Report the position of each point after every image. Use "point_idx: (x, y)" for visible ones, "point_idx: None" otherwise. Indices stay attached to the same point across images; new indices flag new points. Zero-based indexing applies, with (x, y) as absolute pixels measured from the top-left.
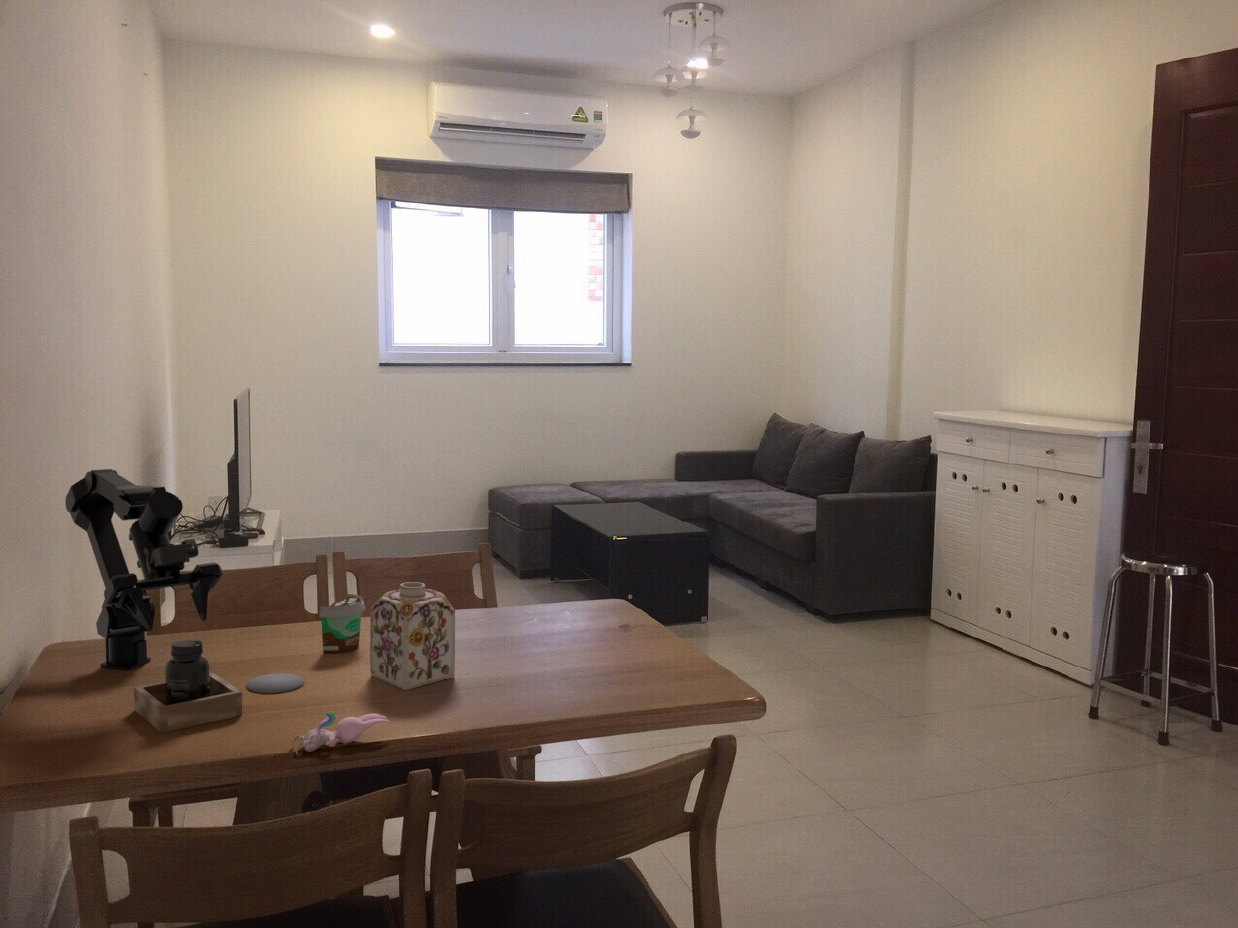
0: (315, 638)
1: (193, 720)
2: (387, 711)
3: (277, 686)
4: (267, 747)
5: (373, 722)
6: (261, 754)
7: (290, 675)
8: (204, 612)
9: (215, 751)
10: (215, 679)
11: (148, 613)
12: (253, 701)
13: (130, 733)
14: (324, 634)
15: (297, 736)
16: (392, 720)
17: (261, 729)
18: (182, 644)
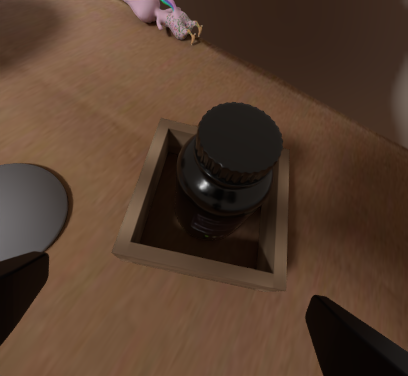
0: None
1: None
2: (44, 29)
3: (27, 190)
4: (208, 61)
5: None
6: (222, 55)
7: None
8: (11, 264)
9: (250, 88)
10: (142, 203)
11: (382, 358)
12: (108, 173)
13: (303, 200)
14: None
15: (189, 30)
16: (69, 15)
17: (179, 93)
18: (255, 135)
